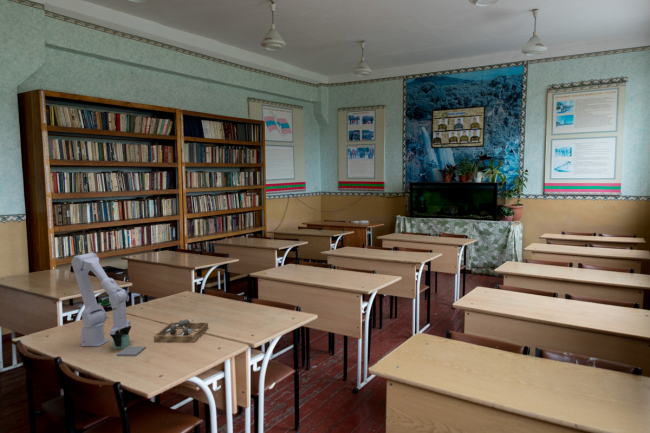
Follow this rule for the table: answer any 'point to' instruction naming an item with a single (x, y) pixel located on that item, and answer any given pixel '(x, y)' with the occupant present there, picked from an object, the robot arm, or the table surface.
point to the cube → (123, 342)
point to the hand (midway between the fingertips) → (121, 343)
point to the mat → (131, 351)
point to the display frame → (161, 338)
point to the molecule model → (181, 324)
